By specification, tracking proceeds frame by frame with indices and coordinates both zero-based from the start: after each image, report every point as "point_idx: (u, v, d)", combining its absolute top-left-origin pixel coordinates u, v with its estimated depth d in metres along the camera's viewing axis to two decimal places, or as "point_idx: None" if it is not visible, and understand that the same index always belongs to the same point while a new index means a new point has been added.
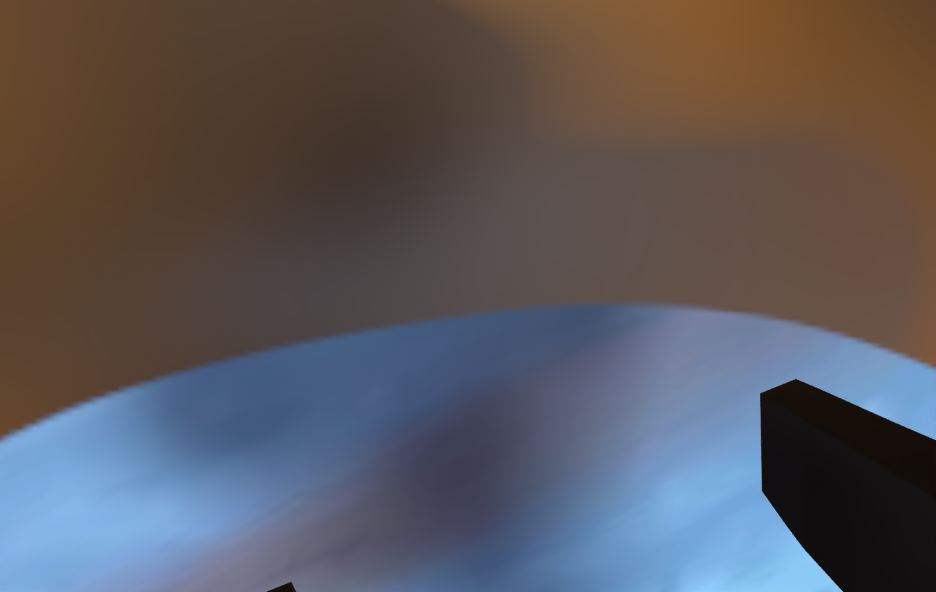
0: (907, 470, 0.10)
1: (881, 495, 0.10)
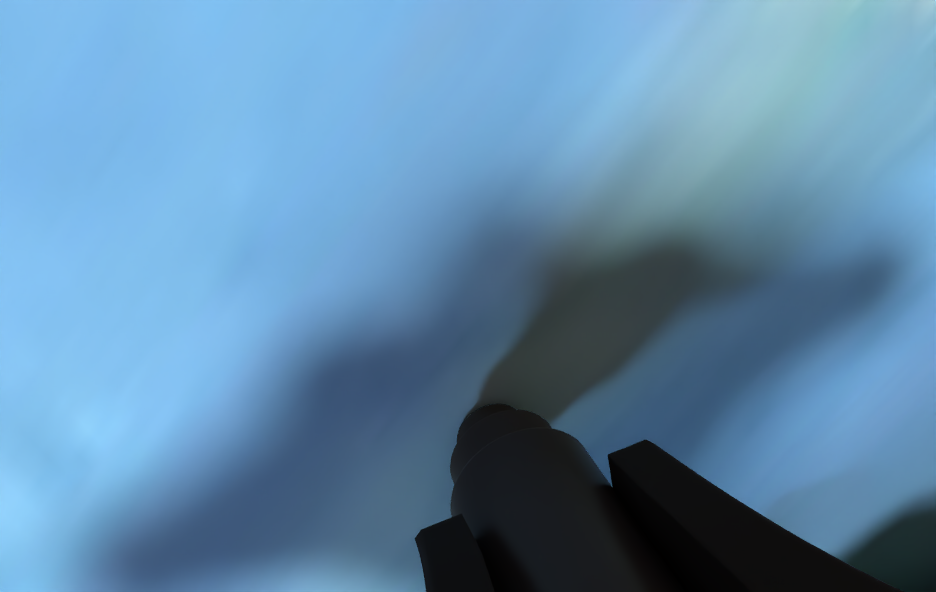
0: (723, 549, 0.09)
1: (704, 573, 0.10)
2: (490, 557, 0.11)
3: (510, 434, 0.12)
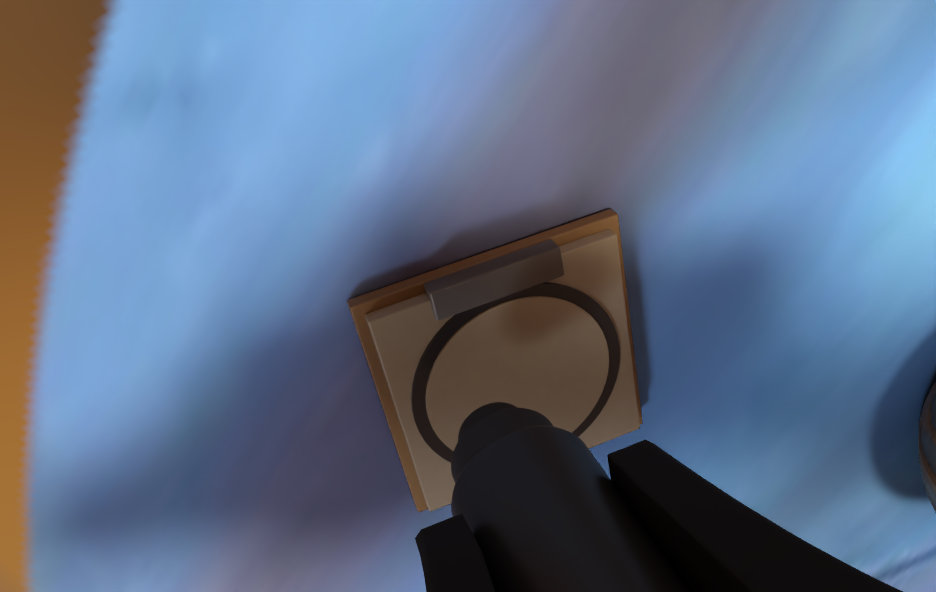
0: (723, 550, 0.09)
1: (703, 573, 0.10)
2: (491, 557, 0.11)
3: (512, 432, 0.12)
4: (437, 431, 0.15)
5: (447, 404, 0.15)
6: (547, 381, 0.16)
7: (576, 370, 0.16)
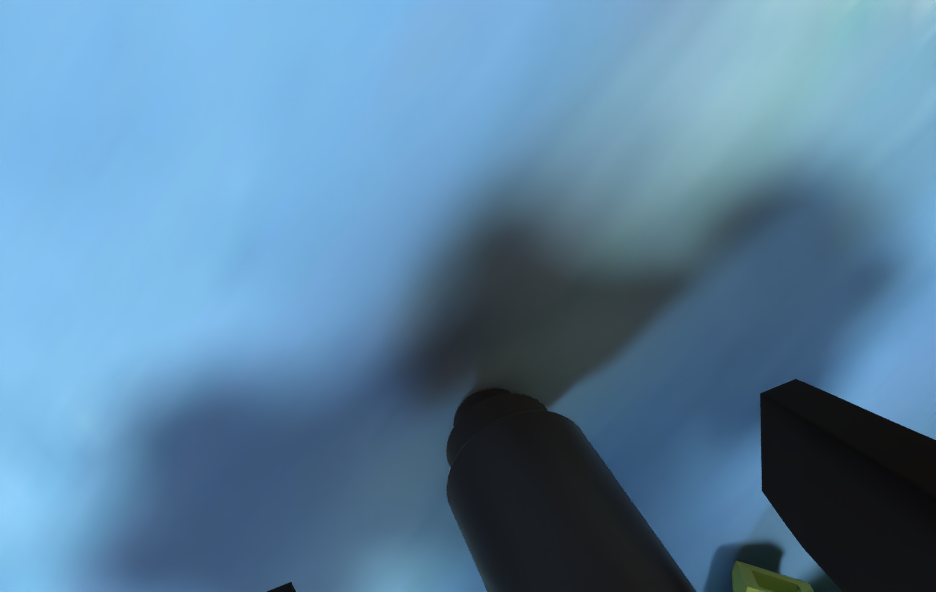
0: (907, 470, 0.10)
1: (881, 495, 0.10)
2: (485, 538, 0.11)
3: (507, 416, 0.12)
4: None
5: None
6: None
7: None
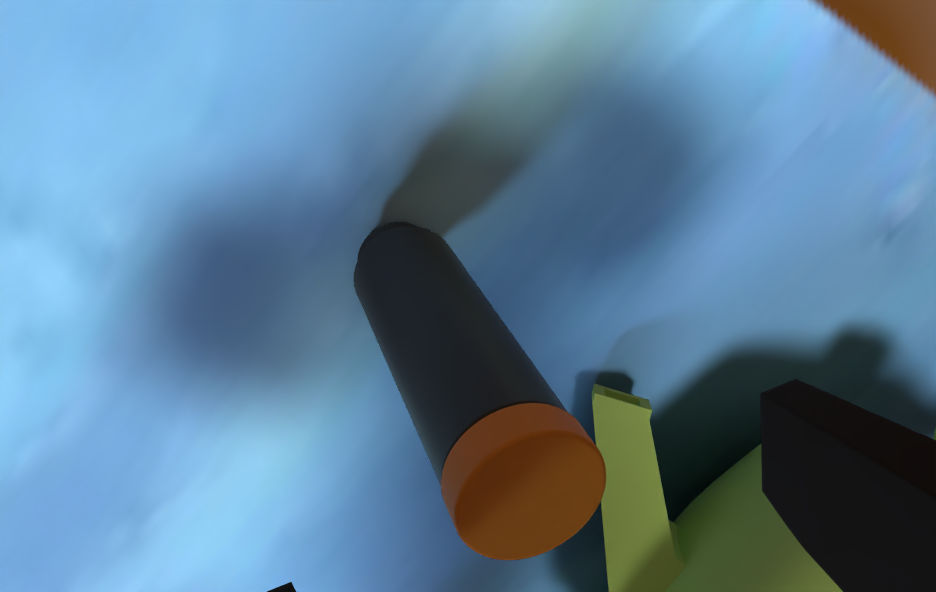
0: (907, 470, 0.10)
1: (882, 496, 0.10)
2: (371, 296, 0.17)
3: (393, 228, 0.18)
4: None
5: None
6: None
7: None
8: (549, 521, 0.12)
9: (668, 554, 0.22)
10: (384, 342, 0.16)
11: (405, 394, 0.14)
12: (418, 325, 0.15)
